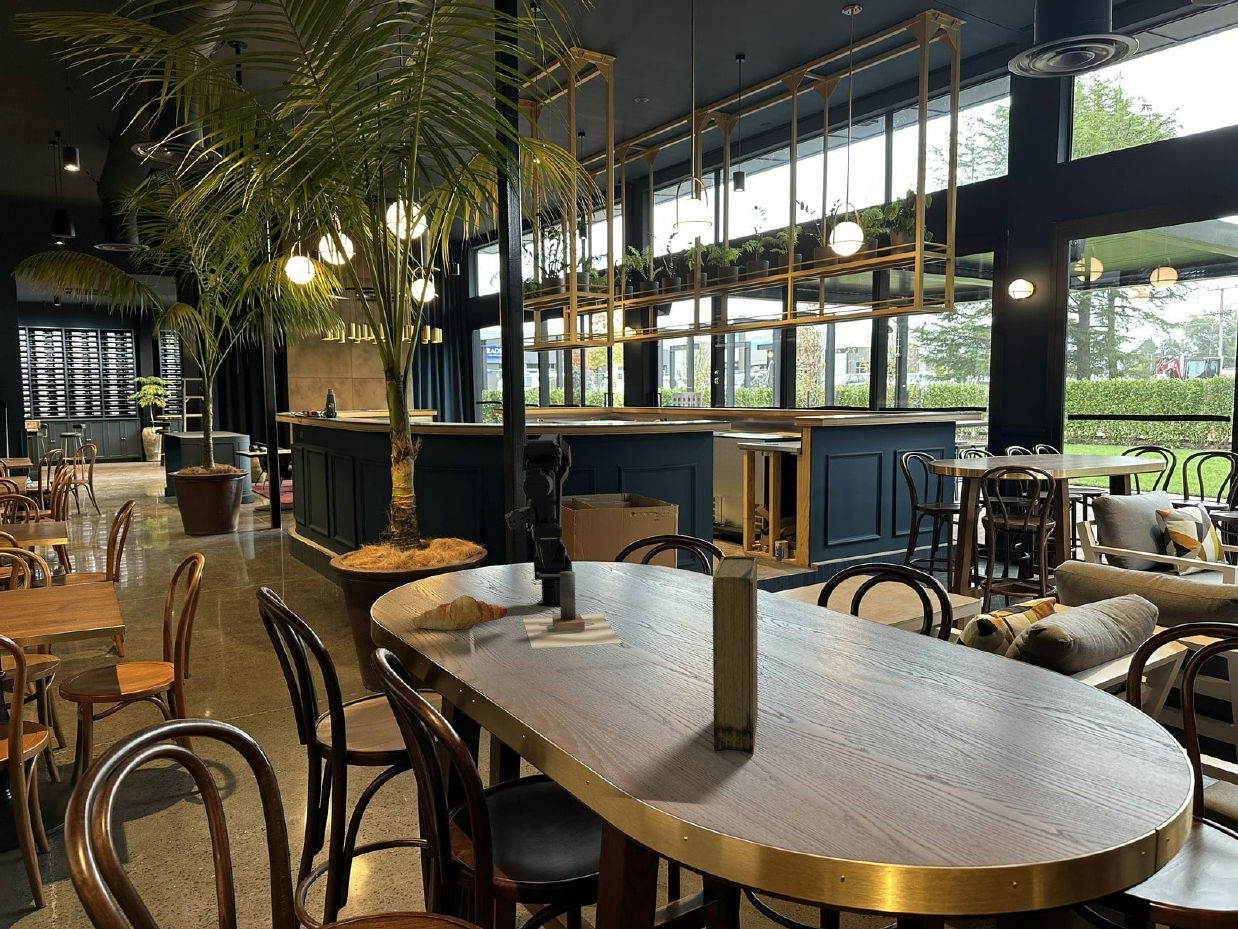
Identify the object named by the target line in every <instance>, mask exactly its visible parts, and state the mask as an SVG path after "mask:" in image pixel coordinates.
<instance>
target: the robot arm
mask: <svg viewBox="0 0 1238 929" xmlns="http://www.w3.org/2000/svg"><path fill="white" fill-rule="evenodd" d="M523 446H524V447H523V454H522V455H523V456H522V468H521V470H522V472H528V473H529V474H528V476H527V477H526V478H525V480H524V481H523V484H522V488H523V493H524V494H525V496H526V497H527V498H528V500H527V505H526V506H525V507H524V506H523V507H521V508H519V509H518V508H516V510H511V511H510V512H508V513H506V514H504V518H505V520H506V523H507V525H508V527H509V530H510V531H514V530H516V529H518V528H520V527H521V526H524V525H526V529H527V532H529V534H530V535H531V536H532V540H533V541H534V542H535V546H536V555H534V557H533V569H534V570H533V571H534V581H539V580H540V581H541V599H540V600H539V601H537V603H536V605H537V604H540V605H539V606H550V605H553V606H554V607H560V572H564V571H572V572H574V571H573V564H572V560H571V559H570V555H569V554H568V552H567V551H568V550H567V548H566V545H565V544H564V543H563V541H562V538H563V529H562V504H563V502H562V501H563V499H562V498H563V496H562V494H563V484H564V482H565V481H566V480H567V477H568V476H569V468H570V467H571V466H572V453H571V447H570V444H569V443H567V441H565V440H564V439H563V438H562V433H561V432H558V431H552V432H551V431H546V432H545V431H544V432H541V433H540V436H539V438H538V439H527V441H526V444H524V445H523Z"/></svg>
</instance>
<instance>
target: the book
mask: <svg viewBox="0 0 1238 929" xmlns="http://www.w3.org/2000/svg"><path fill="white" fill-rule="evenodd" d="M712 575H713V576H712V666H713V667H712V672H713V673H712V674H713V675H712V676H713V677H712V678H713V679H712V680H713V683H712V684H713V692H712V694H713V750H714V751H720V750H730V749H731V750H739V751H744V752H748V753H752V754H754V753H755V743H756V737H757V725H758V717H759V716H758V714H759V709H758V706H759V705H758V704H759V703H758V701H759V700H758V699H759V698H758V696H759V694H758V693H759V692H758V690H759V689H758V683H759V682H758V680H759V679H758V676H759V675H758V668H759V667H758V557H754V556H747V555H746V556H745V555H731V556H730V555H728V556H721V558H720V559H719V562H718V564H717V566H716V569H715V571H714V574H712ZM755 736H756V737H755Z"/></svg>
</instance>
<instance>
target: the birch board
mask: <svg viewBox="0 0 1238 929" xmlns="http://www.w3.org/2000/svg"><path fill="white" fill-rule="evenodd" d="M580 615H581V617H582V619H583V620H584V622H585V631H581V632H567V633H556V631H555V629H554V627H553V621H552V616H545V617H544V616H543V617H530V618H522V622H523V624H524V628H525V630H526V634H527V636H528V640H529V643H530V645H531V649H532V650H541V649H542V650H543V649H555V648H556V649H559V648H570V647H572V648H573V647H584V646H585V647H588V646H598V645H614V644H623V642H622V641H621V639H620V638H619V636H618V635H617V633H616V632H615V631H614V629H613V628H612V627H611V625H610V624H609V622H608V621H607V619H606V618H605V617H604V615H603V614H602V613H589V614H580Z"/></svg>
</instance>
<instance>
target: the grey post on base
mask: <svg viewBox="0 0 1238 929" xmlns="http://www.w3.org/2000/svg"><path fill="white" fill-rule="evenodd" d="M572 571H573V570H572ZM572 571H564V572H560V606H559V607H560V608H559V609H560V614H557V615H552V616H551V617H552V621H553V627H554V629H555V631H556V633H567V632H581V631H585V622H584V620H583V619H582V617H581V615H582V614H581V613H576V610H577V609H576V576H575V575H576V573H575V571H573V572H572Z"/></svg>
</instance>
